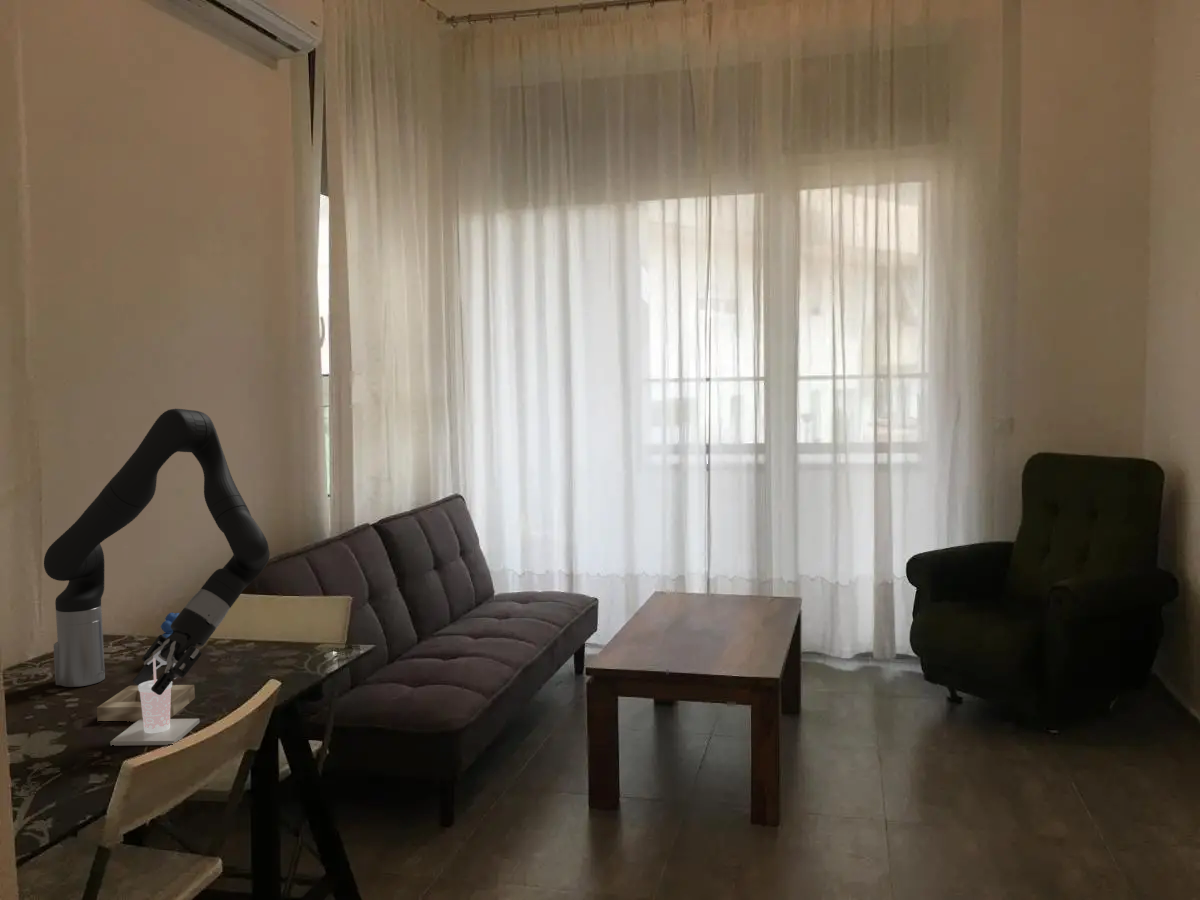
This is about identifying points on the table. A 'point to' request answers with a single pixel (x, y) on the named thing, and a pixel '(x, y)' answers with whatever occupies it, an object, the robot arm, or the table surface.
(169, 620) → the grapes
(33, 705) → the table surface
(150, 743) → the coaster
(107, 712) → the cup holder
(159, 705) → the beverage cup
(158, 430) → the robot arm
